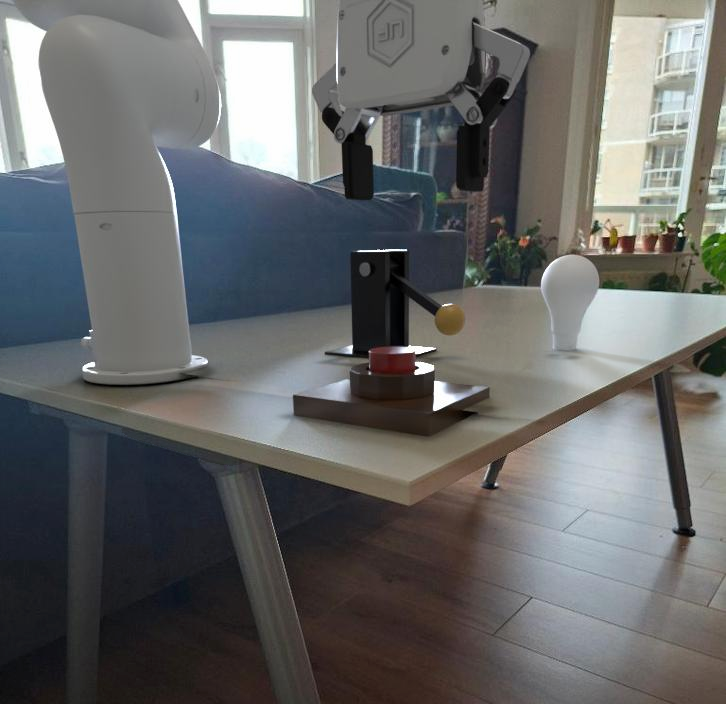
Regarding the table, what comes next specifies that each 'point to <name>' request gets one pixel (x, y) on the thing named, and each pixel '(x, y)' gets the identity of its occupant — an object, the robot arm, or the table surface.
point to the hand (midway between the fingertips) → (412, 195)
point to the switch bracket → (378, 304)
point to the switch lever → (430, 304)
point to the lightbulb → (568, 297)
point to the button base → (391, 400)
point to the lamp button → (392, 359)
